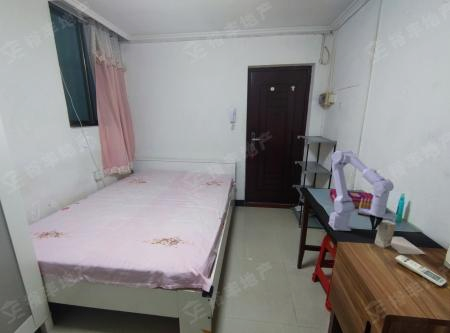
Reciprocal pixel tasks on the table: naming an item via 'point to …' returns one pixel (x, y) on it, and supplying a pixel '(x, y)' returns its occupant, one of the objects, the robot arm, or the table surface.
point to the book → (353, 197)
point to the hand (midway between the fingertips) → (373, 229)
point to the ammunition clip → (365, 207)
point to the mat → (404, 246)
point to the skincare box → (385, 233)
